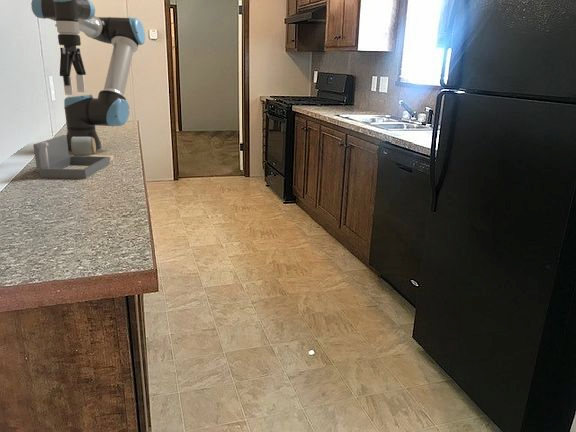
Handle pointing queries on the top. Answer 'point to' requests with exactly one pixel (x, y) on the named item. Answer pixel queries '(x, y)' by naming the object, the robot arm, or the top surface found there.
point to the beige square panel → (105, 155)
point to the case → (64, 160)
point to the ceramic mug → (83, 146)
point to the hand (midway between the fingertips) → (75, 93)
